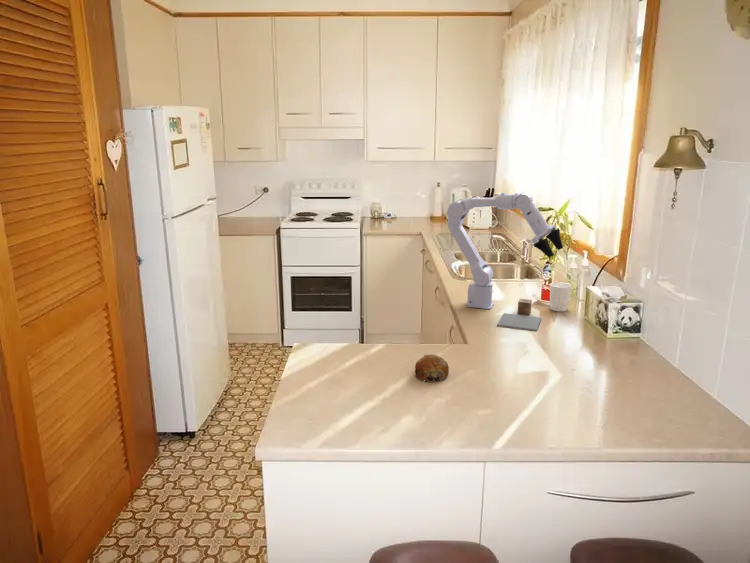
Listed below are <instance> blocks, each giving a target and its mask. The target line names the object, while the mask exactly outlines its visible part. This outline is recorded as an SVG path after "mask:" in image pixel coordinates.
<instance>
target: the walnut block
mask: <svg viewBox="0 0 750 563" xmlns="http://www.w3.org/2000/svg"><path fill="white" fill-rule="evenodd" d="M531 313H532V299H528V298H527V299H526V298H519V300H518V303H517V314H516V315H524V316H531Z"/></svg>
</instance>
